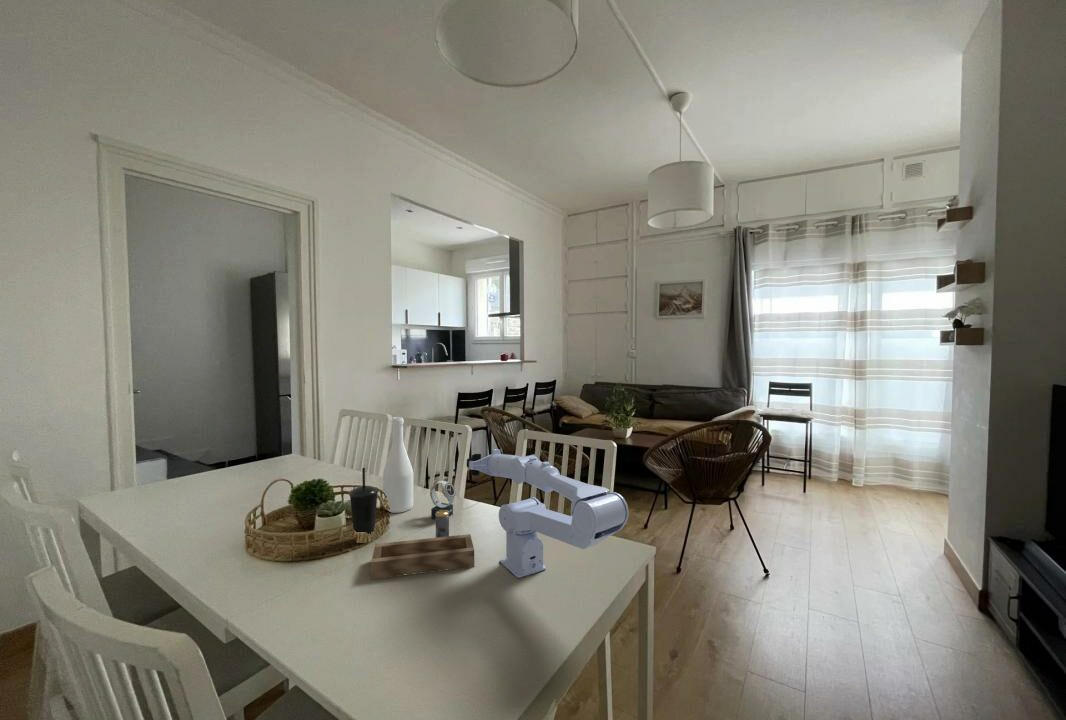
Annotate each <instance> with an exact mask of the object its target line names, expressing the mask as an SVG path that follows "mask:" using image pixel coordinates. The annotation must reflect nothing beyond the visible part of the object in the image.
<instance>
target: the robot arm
mask: <svg viewBox="0 0 1066 720" xmlns="http://www.w3.org/2000/svg"><path fill="white" fill-rule="evenodd" d="M466 468H468V469H469V470H470V475H472V476H475V477H477V476H478V477H479V476H480V474H481V473H483V474H486V475H489V476H491V477H495V478H496V477H500V478H505V479H510V480H512V481H513V482H514V483H515V484H516V485H519V484H522V483H526V484H529V485H531V486H533V487H535V488H537V489H539V490H541V491H543V492H545V493H551V492H553V491H554V492H556V493H558V494H560V496H562V497H564V498H566V499H568V500H569V501H571V505H570V515H568V514H564V513H561V512H558V511H554V510H551V509H547V508H546V507H547V506H546V504H545V503H542V502H541V501H540V500H539V499H538V498H537V497H534V496H533V497H529V498H528V499H523V500H519V501H516V502H512V503H508V504H506V503H504V504H502V505H501V506H500V508H499V511H498V520H499V524H500V526H501V528H502V529H503V530H504V531H505V533H506V535H505V536H506V537H505V539H506V540H505V541H506V544H505V545H506V547H505V549H506V554H505V555H506V556H505V557H502V558H499V562H500V563H501V564H502V565H503V566H504V567H505V569H506V568H507V570H508V571H509V572H510V573H512V574H513V576H515V577H516V578H518V579H521V578H524V577H526V576H529V575H532V574H536V573H539V572H541V571H544V570H546V569H547V566H546V565H545V564H544V544H543V541H542V539H541V538H540V537H539V536H538V534H537V533H539V534H542V535H544V536H546V537H549V538H552V539H555V540H558V541H559V542H562V543H566V544H568V545H571V546H574V547H575V548H579V549H582V550H586V549H588V548H591V547H594V546H596V545H598V544H599V543H601V542H602V541H604V540H606V539H607V538H609V537H610V536H612V535H614V534H615V533H618V532H619V531H621V530H623V529H624V527H625V525H626V523H627V521H628V519H629V517H630V512H629V506H628V503H627V501H626V500H625V498H624V497H623V496H622V495H621V494H620V493H618V492H615V491H612V492H611V489H609V488H607V487H605V486H599V485H592V484H589V483H585V482H582V481H579V480H577V479H573V478H570V477H569V476H564V475H562V474H561V473H560V471H559V469H558V468H557V467H555V466H553V465H551V463H550V462H549V461H541V460H540V458H538V457H537V456H536V454H535V453H533V454H530V455H526V456H519V455H515V454H514V455H513V454H511V453H510V452H505V453H502V452H501V450H500V449H499V448H497V449H496V448H494V449H492V453H491V454H489V455H486V456H484V457H482V453H474V454H472V455H471V457H469V458H466Z"/></svg>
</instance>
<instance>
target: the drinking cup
mask: <svg viewBox="0 0 1066 720" xmlns="http://www.w3.org/2000/svg"><path fill="white" fill-rule="evenodd" d="M361 469H362V475H361V476H362V480H361V481H362V485H360V486H357V487H354V488H353V489H351V490H350V491H348V496H349V498H350V508H351V519H352V527H353V531H354V530H355V531H356V532H367V533H368V534H369V533H370V534H371V532H373V531H374V532H375V526H376V517H377V516H376V515H377V504H378V503H377V502H378V494H379V490H380V489H379V488H378V487H376V486H373V485H366V467H362V468H361Z"/></svg>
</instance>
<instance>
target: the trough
mask: <svg viewBox="0 0 1066 720" xmlns="http://www.w3.org/2000/svg"><path fill="white" fill-rule="evenodd" d="M473 543H474V542H473V540H472V536H471V534H470V533H468V534H461V535H460V534H459V535H449V536H447V537H438V538H436V537H430V538H429V537H428V538H422V539H421V538H420V539H413V540H411V539H410V540H409V539H408V540H402V541H401V540H400V541H391V542H382V543H375V544H374V548H373V553H372V555H371V556H372V558H371V559H370V578H371V580H377V578H378V579H385V578H384V577H386V578H391V577H390V576H394V577H398V576H397V575H403V576H405V575H404V574H411V575H414V574H413V573H419V574H421V573H420V572H427V573H432V572H433V571H435V572H440V571H439V570H443V571H447V570H446V569H451V570H458V569H457V568H459V569H467V568H474V567H475V548H474V544H473Z"/></svg>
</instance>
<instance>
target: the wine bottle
mask: <svg viewBox="0 0 1066 720" xmlns="http://www.w3.org/2000/svg"><path fill="white" fill-rule="evenodd" d="M404 423H405V421H404V418H403V417H402V416H395V417H392V419H391V425H392V437H391V438H392V440H391V441H392V442H391V447H390V451H389V453H388V456H387V460H386V461H385V465H384V469H383V472H382V493H383V492H384V493H385V495H386V496H387V500H388V503H389V507H390V512H391V513H390V514H399V513H405V512H407V511H409V510H411V509H412V508H413V506H414V471H413V470H414V469H413V467H412V466H413V465H412V463H411V461H410V458H409V456H408V452H407V449H406V446H405V442H404Z"/></svg>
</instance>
